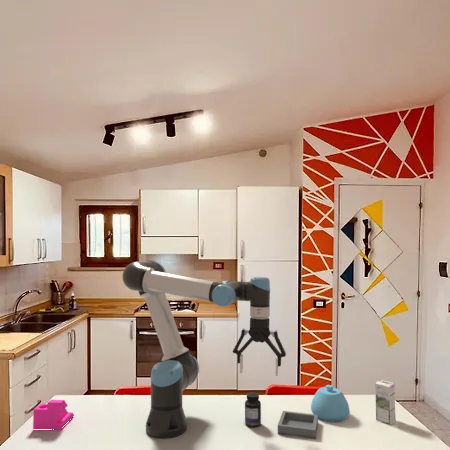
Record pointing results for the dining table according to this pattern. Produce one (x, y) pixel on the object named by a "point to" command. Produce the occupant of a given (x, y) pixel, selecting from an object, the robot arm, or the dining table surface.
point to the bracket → (51, 415)
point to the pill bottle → (252, 410)
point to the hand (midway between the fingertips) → (258, 373)
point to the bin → (298, 424)
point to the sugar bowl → (330, 404)
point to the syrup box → (385, 401)
